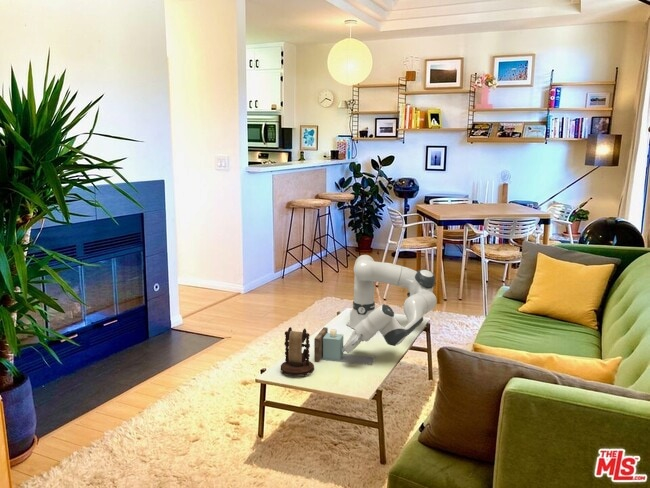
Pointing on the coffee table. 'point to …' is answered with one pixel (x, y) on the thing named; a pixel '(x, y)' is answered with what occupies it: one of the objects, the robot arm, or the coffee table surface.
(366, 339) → the robot arm
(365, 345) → the coffee table surface
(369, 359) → the grey flat rectangular plate
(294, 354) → the scroll
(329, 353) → the dowel block
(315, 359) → the backstop wall
